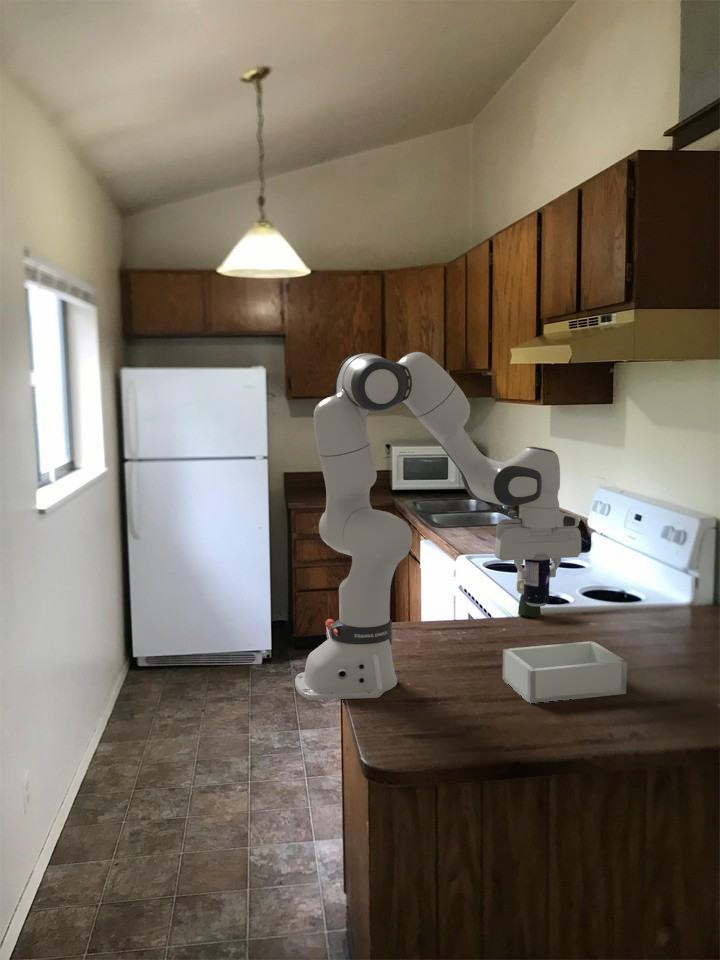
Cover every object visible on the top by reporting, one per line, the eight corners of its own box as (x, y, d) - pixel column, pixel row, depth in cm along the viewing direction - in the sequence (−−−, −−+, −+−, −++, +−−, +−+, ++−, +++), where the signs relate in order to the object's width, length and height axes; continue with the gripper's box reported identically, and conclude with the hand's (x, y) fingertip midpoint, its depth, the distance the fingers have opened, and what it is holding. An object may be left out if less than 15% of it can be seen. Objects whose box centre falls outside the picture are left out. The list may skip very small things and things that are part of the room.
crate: (529, 704, 163) (530, 671, 162) (502, 679, 177) (502, 649, 176) (626, 693, 168) (627, 661, 168) (592, 670, 182) (592, 641, 181)
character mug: (531, 609, 231) (532, 565, 229) (551, 615, 225) (552, 570, 224) (506, 616, 224) (507, 571, 223) (526, 622, 219) (527, 576, 217)
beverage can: (549, 608, 180) (550, 555, 179) (523, 606, 181) (525, 554, 180) (548, 601, 185) (549, 551, 184) (523, 600, 187) (524, 550, 185)
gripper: (501, 521, 176) (500, 583, 177) (585, 518, 180) (583, 578, 182) (490, 517, 182) (489, 576, 183) (572, 514, 186) (570, 572, 188)
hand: (536, 577), depth 183 cm, fingers closed on beverage can, 6 cm apart
